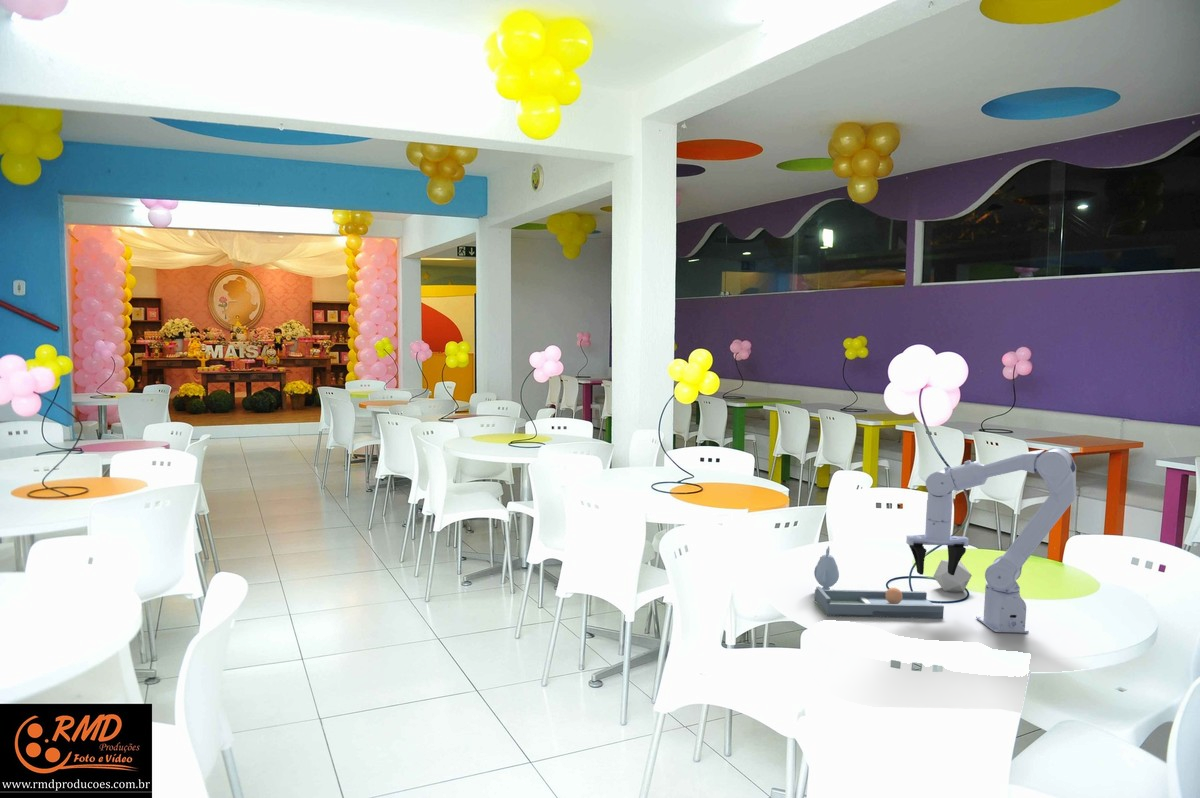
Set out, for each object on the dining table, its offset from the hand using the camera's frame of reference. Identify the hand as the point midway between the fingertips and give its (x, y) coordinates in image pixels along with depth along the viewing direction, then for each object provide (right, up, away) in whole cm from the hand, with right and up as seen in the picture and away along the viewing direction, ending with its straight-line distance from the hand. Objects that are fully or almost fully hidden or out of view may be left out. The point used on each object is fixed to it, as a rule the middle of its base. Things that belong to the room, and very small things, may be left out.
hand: (935, 573), depth 198 cm
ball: (-10, -6, 0) cm, 12 cm away
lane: (-14, -9, +1) cm, 17 cm away
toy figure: (-23, -8, +14) cm, 28 cm away
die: (+12, -8, +18) cm, 23 cm away
